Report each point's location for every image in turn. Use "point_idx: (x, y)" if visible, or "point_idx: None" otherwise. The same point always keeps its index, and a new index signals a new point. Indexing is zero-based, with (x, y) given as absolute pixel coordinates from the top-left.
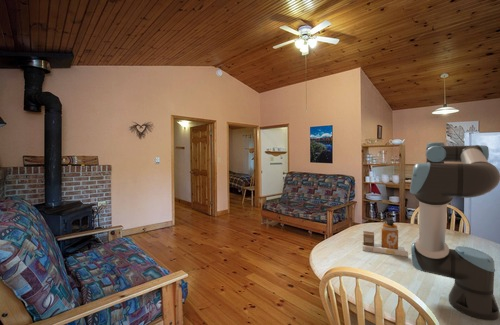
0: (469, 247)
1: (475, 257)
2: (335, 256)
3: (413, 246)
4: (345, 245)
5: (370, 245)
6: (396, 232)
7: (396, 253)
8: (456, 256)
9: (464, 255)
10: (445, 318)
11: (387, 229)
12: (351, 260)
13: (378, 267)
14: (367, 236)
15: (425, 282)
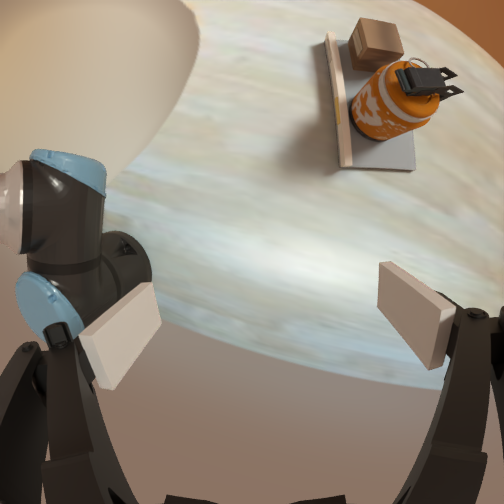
0: (58, 320)
1: (17, 302)
2: None
3: (30, 155)
4: (351, 7)
5: (354, 55)
6: (385, 115)
7: (339, 130)
8: (27, 266)
9: (17, 283)
10: None
11: (380, 75)
12: (240, 20)
13: (223, 80)
14: (361, 32)
15: (181, 194)
